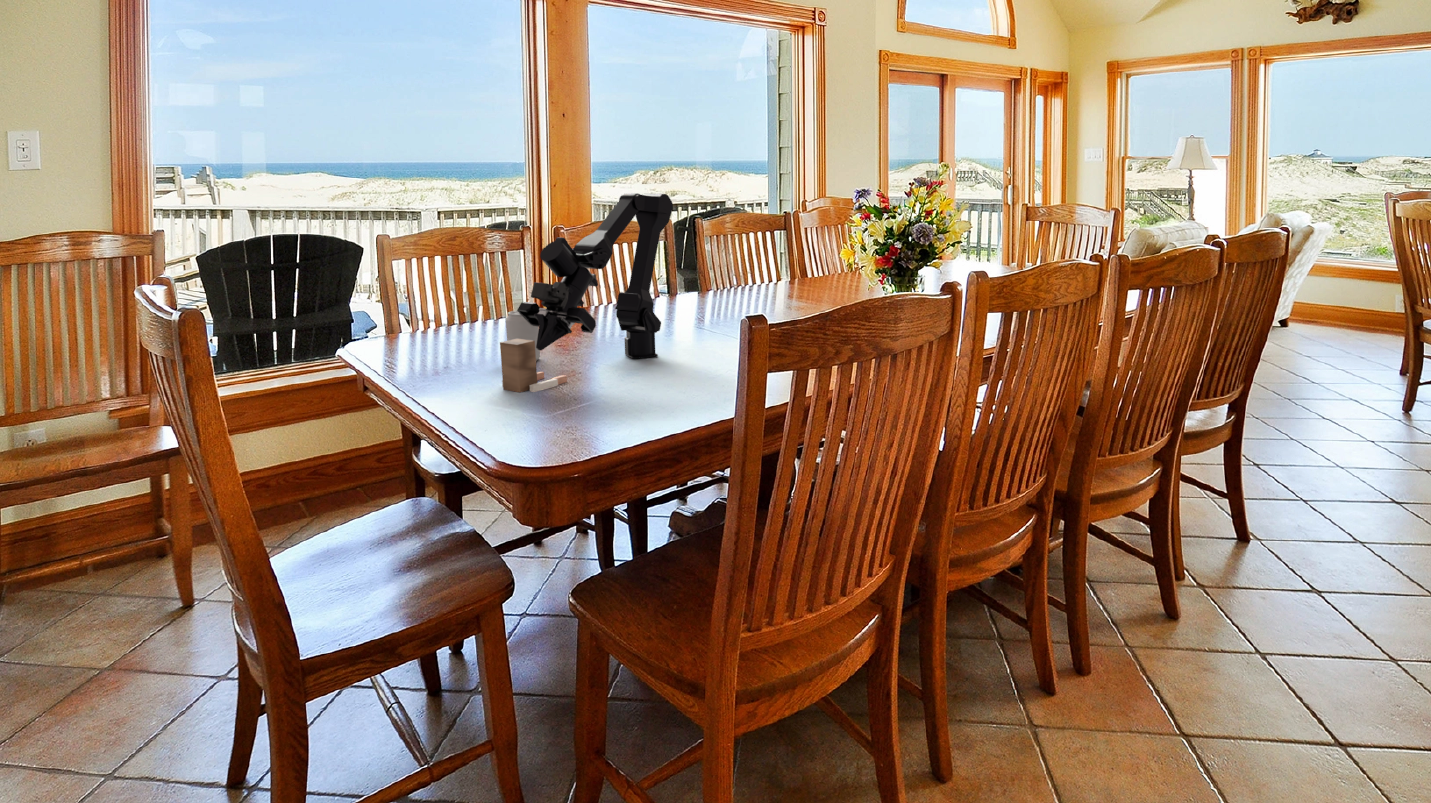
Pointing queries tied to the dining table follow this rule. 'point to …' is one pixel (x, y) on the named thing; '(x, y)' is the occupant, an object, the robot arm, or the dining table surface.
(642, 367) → the dining table surface
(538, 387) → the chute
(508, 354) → the block
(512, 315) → the can
